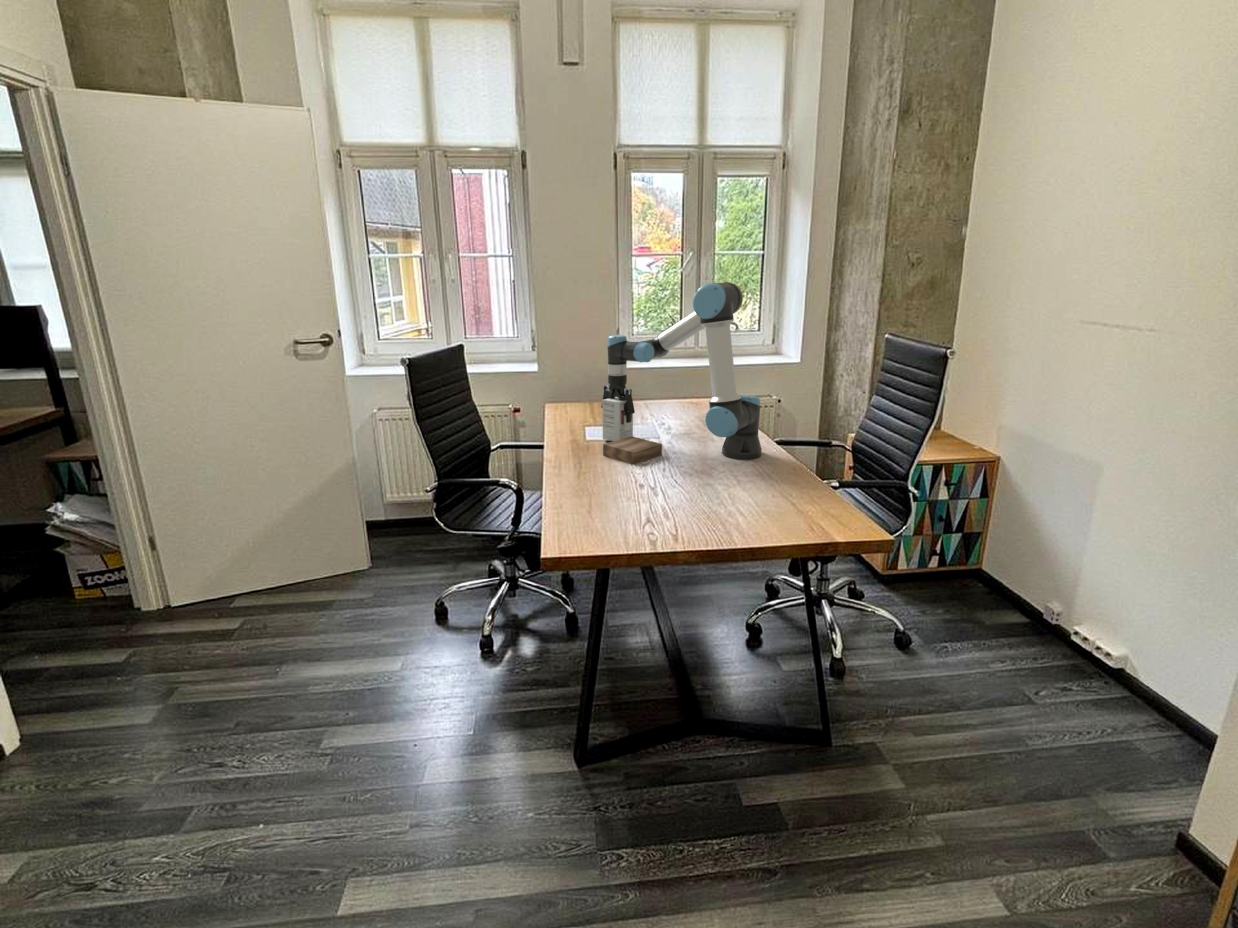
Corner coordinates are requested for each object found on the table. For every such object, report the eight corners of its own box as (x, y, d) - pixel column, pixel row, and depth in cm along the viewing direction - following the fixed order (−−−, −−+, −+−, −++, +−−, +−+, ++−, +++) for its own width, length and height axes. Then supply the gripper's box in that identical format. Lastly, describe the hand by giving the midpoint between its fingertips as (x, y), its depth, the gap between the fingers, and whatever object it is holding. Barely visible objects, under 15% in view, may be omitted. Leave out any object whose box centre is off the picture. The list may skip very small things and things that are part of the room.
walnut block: (661, 456, 248) (661, 443, 247) (633, 465, 237) (633, 452, 236) (631, 448, 259) (631, 436, 257) (603, 456, 248) (603, 444, 247)
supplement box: (619, 443, 262) (619, 402, 257) (602, 439, 267) (601, 399, 262) (633, 438, 269) (633, 398, 264) (616, 434, 274) (615, 395, 269)
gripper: (644, 376, 255) (643, 430, 262) (604, 370, 270) (605, 422, 276) (630, 378, 250) (631, 434, 256) (591, 372, 265) (592, 425, 271)
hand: (617, 427), depth 266 cm, fingers closed on supplement box, 10 cm apart
